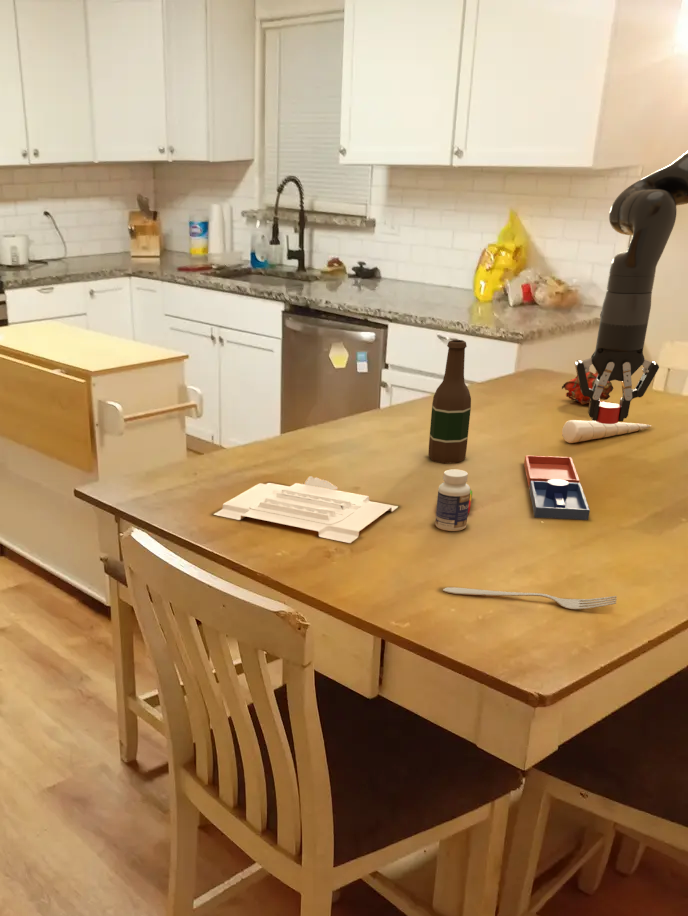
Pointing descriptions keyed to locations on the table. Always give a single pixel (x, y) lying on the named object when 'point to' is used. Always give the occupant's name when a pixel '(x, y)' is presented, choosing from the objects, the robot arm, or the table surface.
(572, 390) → the dragon fruit
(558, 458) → the red tray
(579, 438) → the unicorn horn
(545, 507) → the blue tray
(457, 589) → the fork
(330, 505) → the tray
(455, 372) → the beer bottle
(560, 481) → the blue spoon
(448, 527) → the pill bottle
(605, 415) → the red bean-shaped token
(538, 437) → the table surface
